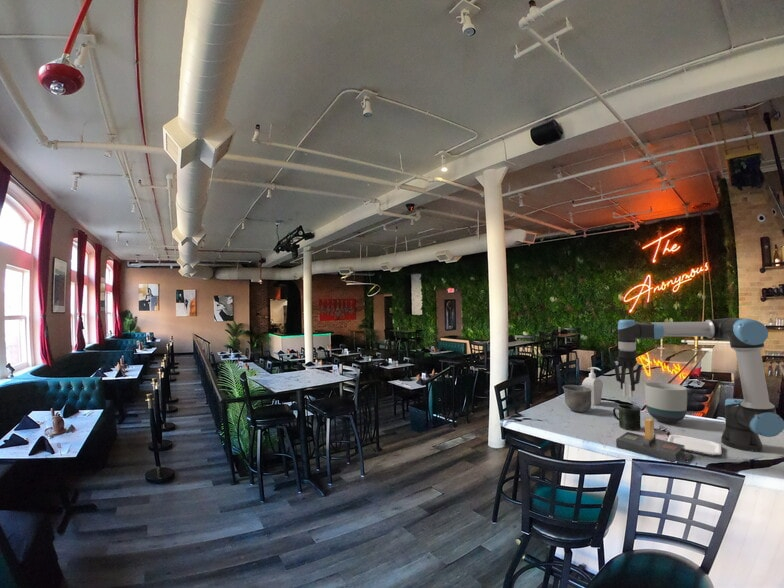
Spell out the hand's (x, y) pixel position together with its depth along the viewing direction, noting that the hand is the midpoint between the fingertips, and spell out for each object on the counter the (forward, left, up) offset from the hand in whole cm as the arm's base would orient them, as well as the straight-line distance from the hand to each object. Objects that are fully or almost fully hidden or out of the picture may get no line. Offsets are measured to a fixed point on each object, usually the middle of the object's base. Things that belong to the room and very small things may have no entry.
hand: (627, 396), depth 187 cm
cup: (+43, -41, -25) cm, 64 cm away
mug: (+10, -29, -25) cm, 39 cm away
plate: (-22, -21, -25) cm, 39 cm away
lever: (-9, 0, -19) cm, 21 cm away
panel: (-9, 0, -24) cm, 26 cm away
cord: (-24, -2, -24) cm, 34 cm away
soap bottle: (+42, -66, -25) cm, 82 cm away
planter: (-2, -58, -25) cm, 63 cm away
